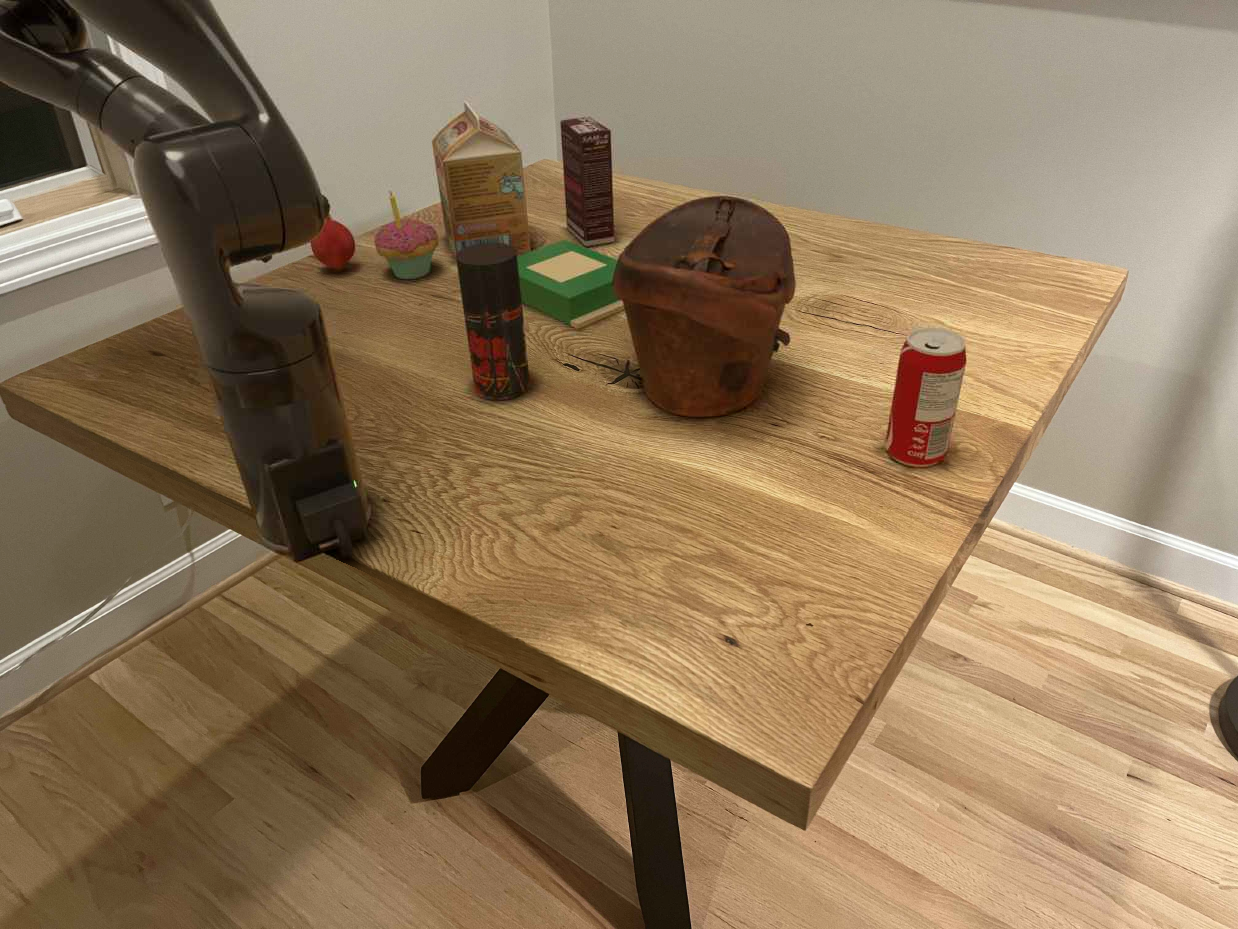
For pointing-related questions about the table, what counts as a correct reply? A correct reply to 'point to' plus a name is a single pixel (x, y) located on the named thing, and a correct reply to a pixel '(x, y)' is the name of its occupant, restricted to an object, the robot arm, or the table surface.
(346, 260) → the onion
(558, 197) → the table surface
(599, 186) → the supplement box
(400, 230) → the cupcake
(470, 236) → the milk carton
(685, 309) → the case
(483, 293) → the deodorant
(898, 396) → the soda can
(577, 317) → the green box
